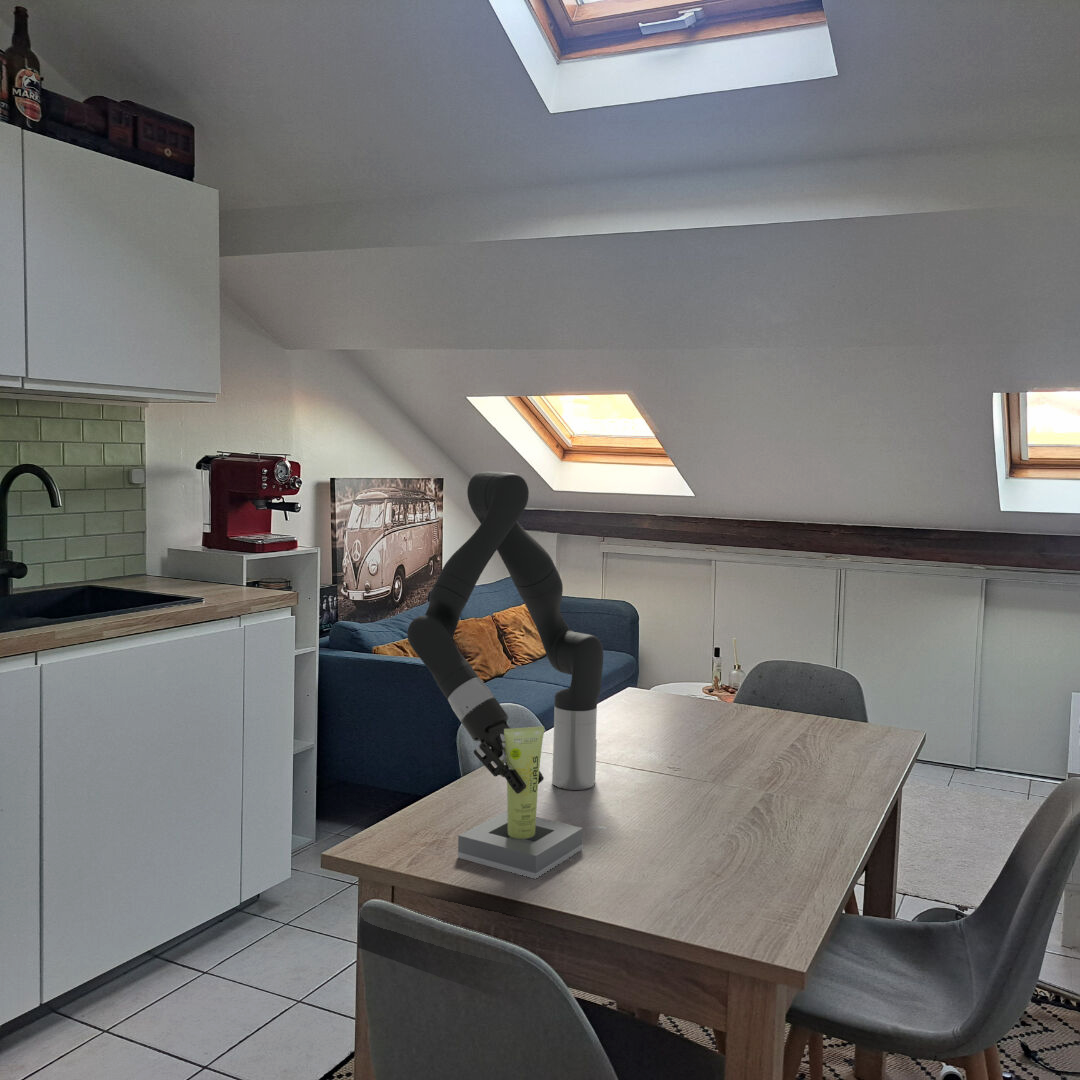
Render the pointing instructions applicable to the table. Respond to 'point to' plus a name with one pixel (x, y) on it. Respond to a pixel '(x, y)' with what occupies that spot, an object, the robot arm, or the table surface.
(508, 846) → the holder
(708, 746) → the table surface
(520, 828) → the tube
